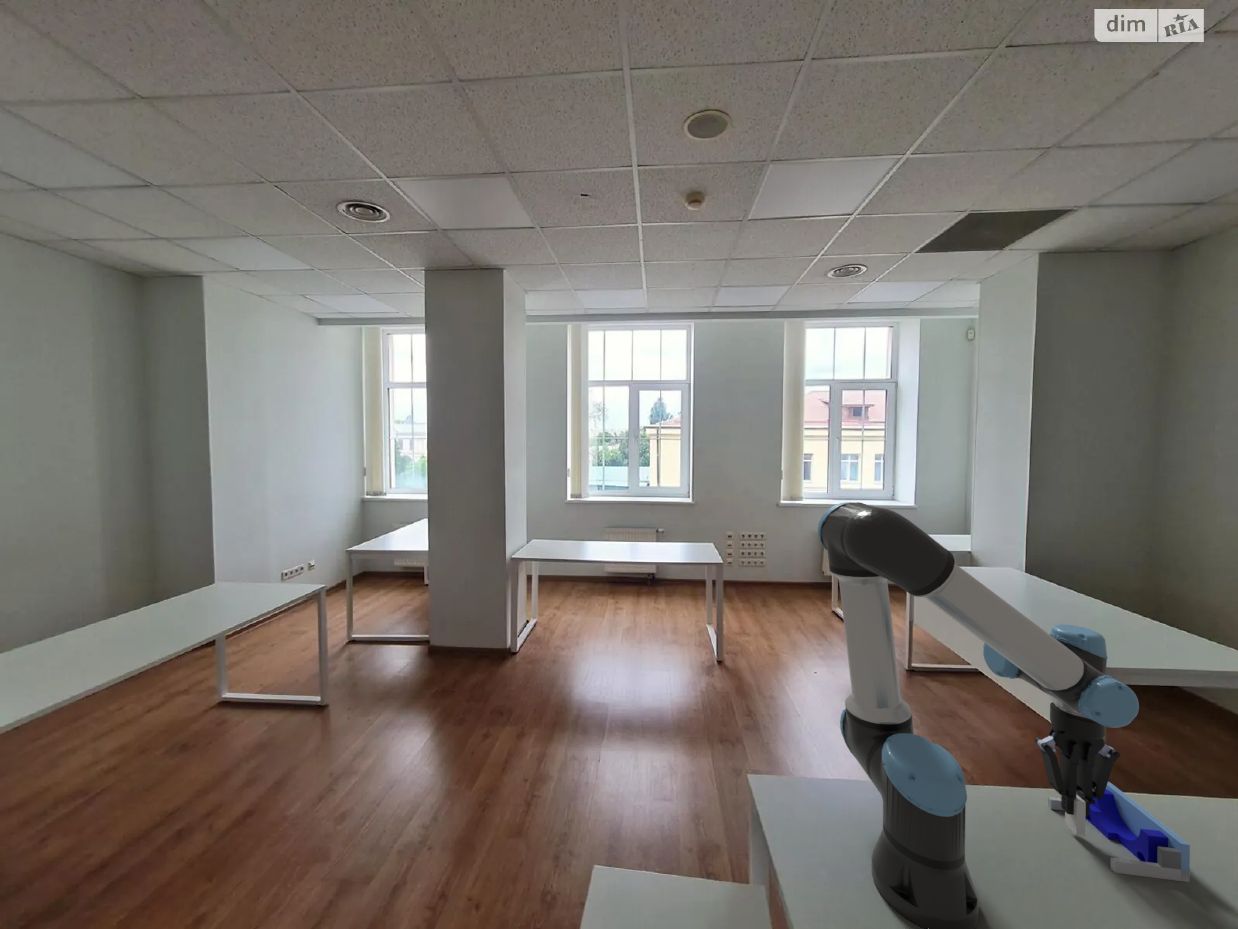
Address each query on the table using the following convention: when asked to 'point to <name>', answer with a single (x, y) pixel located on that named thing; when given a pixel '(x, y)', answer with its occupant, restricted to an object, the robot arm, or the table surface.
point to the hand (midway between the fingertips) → (1074, 829)
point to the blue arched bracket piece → (1124, 830)
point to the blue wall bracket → (1169, 860)
